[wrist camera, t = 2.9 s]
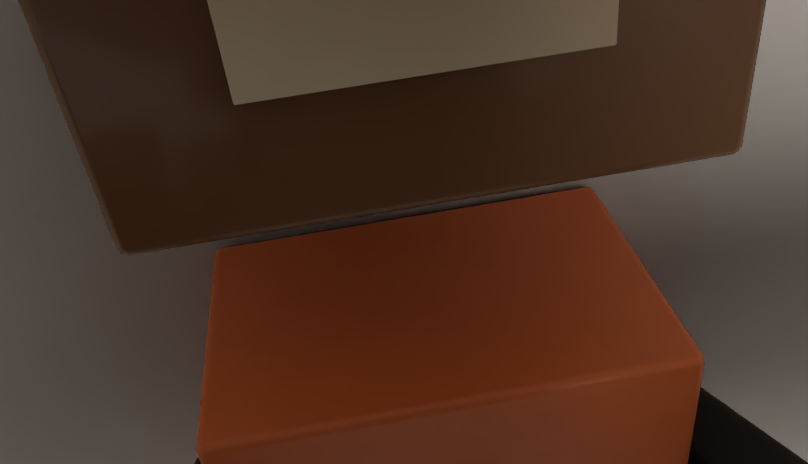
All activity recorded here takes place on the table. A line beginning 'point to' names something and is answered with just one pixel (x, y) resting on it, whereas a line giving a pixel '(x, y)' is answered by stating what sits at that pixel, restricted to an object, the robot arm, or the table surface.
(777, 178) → the table surface
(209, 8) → the brown square block
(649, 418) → the orange block
